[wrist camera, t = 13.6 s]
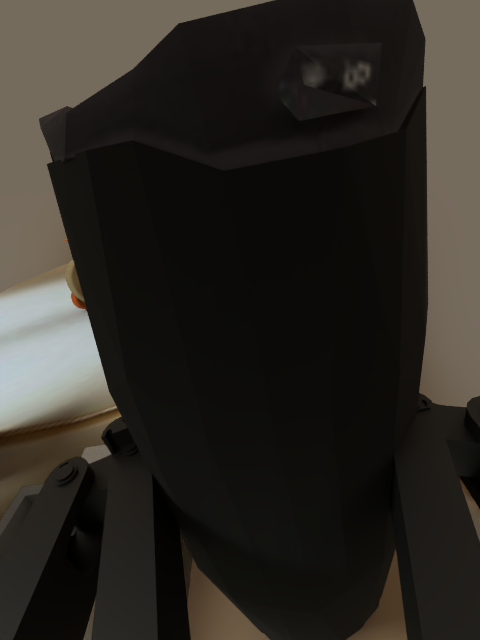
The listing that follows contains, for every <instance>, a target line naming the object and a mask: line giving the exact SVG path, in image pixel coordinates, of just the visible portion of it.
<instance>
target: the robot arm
mask: <svg viewBox="0 0 480 640" xmlns="http://www.w3.org/2000/svg"><path fill="white" fill-rule="evenodd" d="M101 438H102V440H103V441H104V443H105V445H106V446H107V448H108V450H109V451H110V453H111V455H109V456H107V457H104V458H102V459H100V460H97V461H95V462H93V463H90V464H89V463H88V462H87V460H86V459H84V458H82V457H74V458H71V459H68V460H66V461H65V462H63V463H61V464H60V465H59V466H57V467H56V468H55V469H54V470H53V471H52V472H51V474H50V475H49V476H48V478H47V479H46V481H45V483H44V485H43V487H42V489H41V490H40V492H39V494H38V496H37V498H36V500H35V501H34V503H33V505H32V507H31V509H30V511H29V512H28V514H27V516H26V518H25V520H24V522H23V523H22V525H21V527H20V529H19V531H18V533H17V534H16V536H15V538H14V540H13V542H12V543H11V545H10V547H9V549H8V551H7V553H6V554H5V556H4V558H3V560H2V562H1V564H0V640H83V638H84V635H85V631H86V628H87V624H88V621H89V618H90V614H91V611H92V607H93V604H94V600H95V597H96V603H95V612H94V621H93V631H92V640H191V635H190V626H189V616H188V607H187V597H186V588H185V579H184V569H183V560H182V550H181V541H180V531H179V526H178V524H177V522H176V520H175V518H174V516H173V514H172V512H171V511H170V509H169V507H168V505H167V503H166V501H165V499H164V497H163V495H162V493H161V491H160V489H159V487H158V485H157V483H156V481H155V479H154V477H153V475H152V473H151V472H150V471H149V470H148V468H147V466H146V464H145V462H144V460H143V458H142V456H141V454H140V452H139V450H138V448H137V446H136V444H135V442H134V440H133V438H132V436H131V434H130V432H129V430H128V428H127V426H126V424H125V422H124V420H123V418H122V417H120V418H118V419H116V420H114V421H113V422H112V423H110V424H109V425H108V426H107V428H106V429H105V430H104V431H103V434H102V437H101ZM458 476H460V478H461V480H462V481H463V483H464V484H465V486H466V488H467V489H468V491H469V492H470V494H471V496H472V497H473V499H474V500H475V502H476V504H477V505H478V507H479V508H480V396H479V397H475V398H472V399H471V400H470V401H469V402H468V403H467V408H466V407H453V406H444V405H438V404H434V403H432V401H431V400H430V399H428V398H427V397H426V396H425V395H422V394H420V393H419V395H418V403H417V412H416V416H415V418H414V420H413V422H412V424H411V426H410V427H409V429H408V431H407V433H406V435H405V436H404V438H403V440H402V442H401V444H400V445H399V447H398V449H397V450H396V452H395V454H394V462H393V479H392V497H391V514H392V522H393V530H394V538H395V546H396V554H397V562H398V570H399V578H400V585H401V593H402V601H403V609H404V617H405V625H406V633H407V640H480V542H479V539H478V536H477V533H476V530H475V527H474V524H473V521H472V518H471V515H470V512H469V509H468V506H467V503H466V500H465V496H464V493H463V490H462V487H461V484H460V481H459V478H458ZM96 593H97V594H96Z"/></svg>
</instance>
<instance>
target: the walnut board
mask: <svg viewBox="0 0 480 640" xmlns="http://www.w3.org/2000/svg"><path fill="white" fill-rule="evenodd" d="M187 607H188V616H189V626H190V635H191V640H270V639H269V638H268V637H267V636H266V635H265V634H264V633H262V632H260V631H259V630H258V629H257V628H256V627H255V626H254V625H253V624H252V623H251V622H250V621H249V619H248V618H247V617H246V616H245V615H244V614H243V613H242V612H241V611H240V610H239V609H238V608H237V607H236V606H235V605H234V604H233V603H232V602H231V601H230V600H229V599H228V598H227V597H226V596H225V595H224V594H223V593H222V592H221V591H220V590H219V589H218V588H217V587H216V586H215V585H214V584H213V583H212V582H211V581H210V580H209V579H208V578H207V577H206V576H205V575H204V574H203V573H202V572H201V571H200V570H199V569H198V567H197V565H196V563H195V561H194V559H192V567H191V576H190V585H189V594H188V603H187ZM346 640H407V633H406V625H405V617H404V609H403V601H402V593H401V585H400V578H399V570H398V562H397V554H396V550H395V553H394V556H393V560H392V563H391V566H390V570H389V573H388V577H387V580H386V583H385V587H384V590H383V593H382V597H381V598H380V601H379V607H378V608H377V609H376V610H375V612H374V613H373V614H372V615H371V616H370V618H369V619H368V620H367V621H366V622H365V624H364V626H363V627H362V628H361V629H360V630H359V631H357V632H356V633H355V634H353V635H352V636H350V637H349V638H348V639H346Z"/></svg>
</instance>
